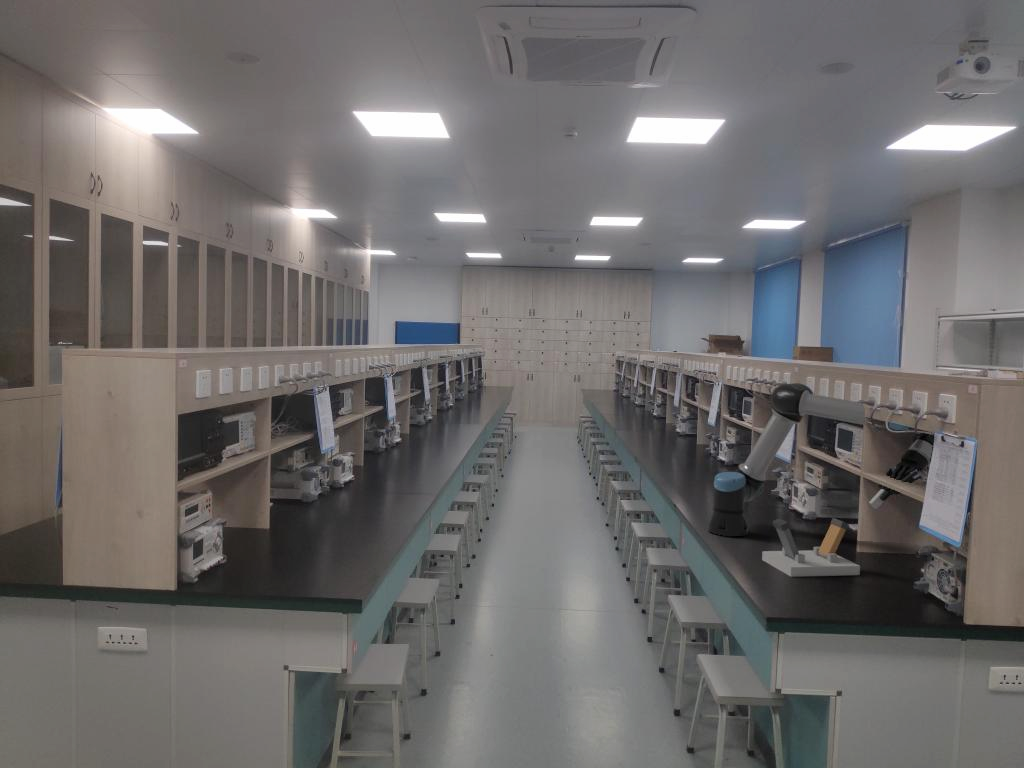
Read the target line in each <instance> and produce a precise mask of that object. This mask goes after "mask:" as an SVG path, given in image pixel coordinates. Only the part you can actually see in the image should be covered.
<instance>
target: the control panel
mask: <svg viewBox="0 0 1024 768" xmlns="http://www.w3.org/2000/svg"><path fill="white" fill-rule="evenodd" d="M819 548H820V546H813V549H812V550H810V549H809V550H798V552H799V554H795V559H793V558H792V557H790V556H788V555H786V553H785V550H784V548H783V546H782V550H768V551H767V550H766V551H765V550H764V551H763V550H762V553H761V554H762V555H761V560H762V561H763V562H765V563H767V564H769V565H770V566H772V567H774V568H775V569H776V570H779V571H781V572H782V573H784V574H785V575H787V576H789V577H790V578H791V577H792V578H793V577H829V576H831V577H832V576H833V577H834V576H835V577H836V576H860V575H861V574H860V573H861V565H859V564H857V563H855V562H853V561H851V560H849V559H847V558H845V557H842V556H840V555H838V554H837V553H836V552H835V553H827V558H825V557H823V556H821V555H819V554H818V551H819Z"/></svg>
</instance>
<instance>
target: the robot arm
mask: <svg viewBox="0 0 1024 768" xmlns="http://www.w3.org/2000/svg"><path fill="white" fill-rule="evenodd" d="M770 402H771V405H772V406H771V411H772V415H771V417H770V419H769V420H768V422H767V424H765V425H766V426H765V427H764V429H763V430H762V432H761V434H760V436H759V437H758V439H757V441H756V442H755V444H754V446H753V448H752V450H751V452H750V453H749V455H748V457H747V458H746V460H745V462H744V463H740V464H738V466H737V468H736V469H735V471H724V472H719V473H717V474H716V475H715V476H714V481H713V507H712V511H713V512H712V514H711V516H710V518H709V521H708V525H707V531H708V530H709V531H710V532H712V533H714V534H713V535H715V534H718V535H717V536H720V535H723V536H722V537H725V536H744V537H746V536H745V535H747V534H748V535H749V529H748V524H747V522H746V518H745V517H746V516H745V503H747V502H750V501H754V500H756V499H758V497H759V496H760V495H761V494H762V492H763V491H764V483H765V481H766V479H767V478H766V472H767V470H768V468H769V467H770V465H771V464H772V462H773V460H774V458H775V457H776V455H777V454H778V452H779V450H780V448H781V447H782V445H783V444H784V441H786V438H787V437H788V435H789V433H790V432H791V430H792V428H793V427H794V425H796V424H800V423H801V422H802V419H803V418H804V416H806V415H810V416H815V417H821V418H825V419H831V420H837V421H841V422H847V423H851V424H857V425H861V426H862V425H863V426H867V423H868V419H867V418H866V417H865V408H864V405H863V404H860V403H861V402H860V403H859V401H853V400H848V399H841V398H836V397H832V396H831V397H830V396H825V395H820V394H819V395H818V394H814V392H813V390H812V389H811V387H809V386H808V385H806V384H802V383H798V382H796V383H784V384H783V383H782V384H780V385H778V386H776V388H774V389H773V391H772V393H771V396H770ZM881 423H883V422H881ZM871 427H873V428H876V427H875V426H871ZM889 427H890V428H892V429H895V430H909V428H908V427H906V426H903V425H899V424H895V423H891V422H889ZM913 436H914V437H916V438H917V439H916V440H915V441H914V442H913V443H912V444H911V445H910V446H909V448H908V449H907V450H906V451H905V452H904V453H903V454H902V455H901V458H900V459H901V460H900V462H899V463H897V464H896V466H893V467H894V468H890V469H889V471H888V472H887V471H886V472H887V473H886V472H885V473H886V475H887V476H890V478H894V479H896V480H901V481H902V482H909V483H912V484H913V483H914V482H915V481H917V480H919V479H921V478H922V476H921V475H920V473H919V471H920V472H923V471H924V470H925V469H926V468H927V466H928V465H929V461H930V458H931V453H932V447H933V440H934V435H929V434H925V433H921V434H914V435H913ZM926 465H927V466H926ZM924 468H925V469H924ZM877 487H878V488H879V490H878V491H877V492H876V493H875V494H874V496H873V497H872V498H871V499H870V500H869V501H868V504H869V505H870V506H871V507H872V508H873V509H875V510H877V509H879V507H880V506H881V505H882V504H883V503H884V502H885V501H887V499H889V497H890V496H893V495H895V496H897V495H899V494H900V493H901V492H897V491H895V490H892V489H890V488H887V487H885V486H882V485H879V483H878V484H877ZM709 531H708V532H709ZM710 532H709V533H710ZM712 533H711V534H712ZM748 535H747V536H748Z"/></svg>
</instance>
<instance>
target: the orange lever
mask: <svg viewBox="0 0 1024 768" xmlns="http://www.w3.org/2000/svg"><path fill="white" fill-rule="evenodd" d="M849 526H850V524H848V523H846V522H845V521H843V520H839V519H837V518H835V517H832V518H831V521H830V526H829V528H828V530H827V532H826V534H825V535H824V536H825V537H824V538H823V540H822V542H821V545H820V546H819V547H820V548H819V551H818V554H819V555H821V556H823V557H825V558H827V553H835V554H836V552H837V550H838V547H839V545H840V543H841V541H842V539H843V537H844V535H845V533H846V531H847V530H848V529H849Z"/></svg>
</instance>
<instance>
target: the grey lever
mask: <svg viewBox="0 0 1024 768" xmlns="http://www.w3.org/2000/svg"><path fill="white" fill-rule="evenodd" d="M772 525H773V527H774V528H775V530H776V533H777V535H778V538H779V540H780V543H781V544H782V547H783V548H784V550H785V553H786V555H788V556H790V557H792V558H793V559H795V554H799V552H798V551H799V549H798V548H797V547H798V546H797V545H796V542H795V540H794V538H793V534H792V532H791V530H790V528H791V527H790V524H789V522H788V521H786V520H784V519H781V518H779V517H778V518H776V519H775V520H773V521H772Z"/></svg>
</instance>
